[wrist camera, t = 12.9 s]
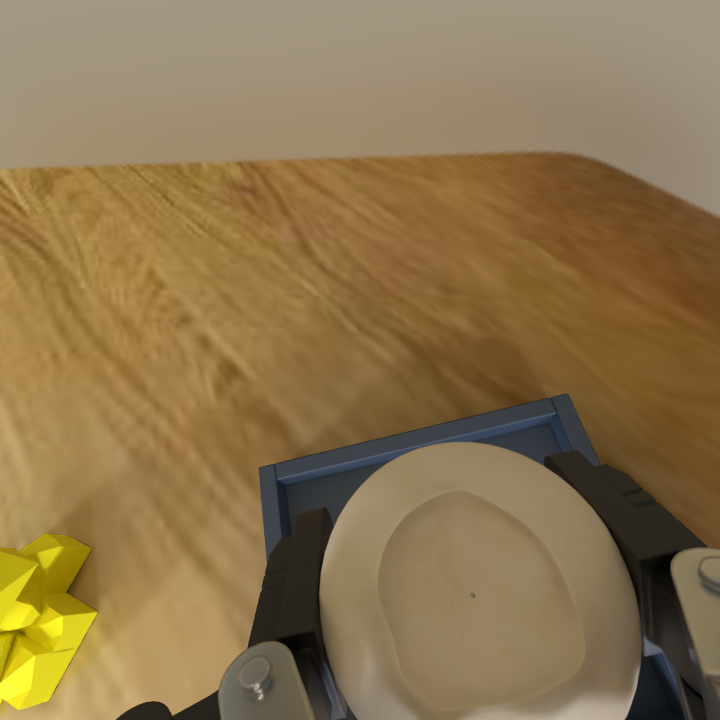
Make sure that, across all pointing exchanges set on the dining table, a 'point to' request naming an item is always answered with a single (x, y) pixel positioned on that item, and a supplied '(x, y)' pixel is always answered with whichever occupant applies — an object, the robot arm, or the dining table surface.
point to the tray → (498, 428)
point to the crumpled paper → (39, 617)
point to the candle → (477, 594)
